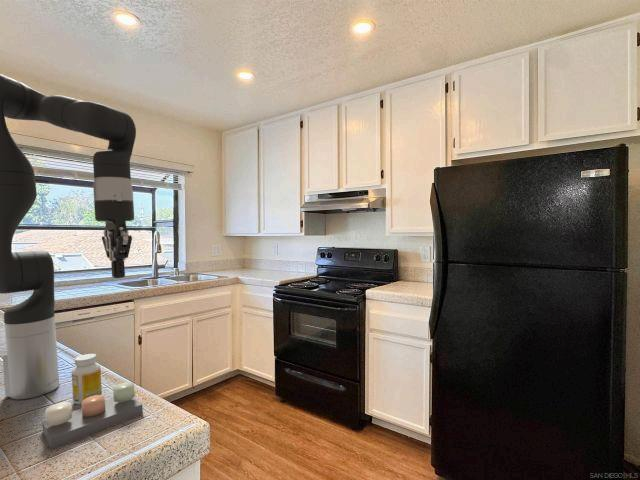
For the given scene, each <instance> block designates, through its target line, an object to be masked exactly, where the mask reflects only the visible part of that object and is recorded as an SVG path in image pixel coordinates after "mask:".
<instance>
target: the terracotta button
mask: <svg viewBox="0 0 640 480" xmlns="http://www.w3.org/2000/svg"><path fill="white" fill-rule="evenodd" d="M105 400H106V398H105V395H103V394H102V395H95V396H91V397H88V398H86V399H84V400H83V401H82V404H81V408H82V415H83V416H84V417H91V416H95V415H98V414H100V413H102V412H103V411H105Z"/></svg>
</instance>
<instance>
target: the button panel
mask: <svg viewBox="0 0 640 480" xmlns="http://www.w3.org/2000/svg"><path fill="white" fill-rule="evenodd" d="M143 411H144V409H143V403H141V402H140V401H139V400H138V399H137V398H135V396H134V397H133V398H132V399H130V400H128V401H124V402H115V401H114V397H112V398H108V399H105V411H103V412H102V413H100V414H98V415H95V416H91V417H84V416H83V415H82V407H81V408H79V409H76V410H72V418H71V419H70V420H69V421H67V422H65V423H62V424H59V425H55V426H48V425H47V424H46V420H43V421H42V422H41V423H42V424H41V429H42V434H43V435H44V437H45V439H46V442H47V444H48V445H49V448H50V449H51V450H54V449H57V448H59V447H62V446H64V445H66V444H69V443H72V442H75V441H78V440H79V439H83V438H85V437H88V436H89V435H92V434H95V433H97V432H100V431H103V430H106V429H107V428H111V427H113V426H115V425H118V424H120V423H122V422H125V421H128V420H131V419H134V418H136V417H139V416H141V415H143V414H144V412H143Z"/></svg>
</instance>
